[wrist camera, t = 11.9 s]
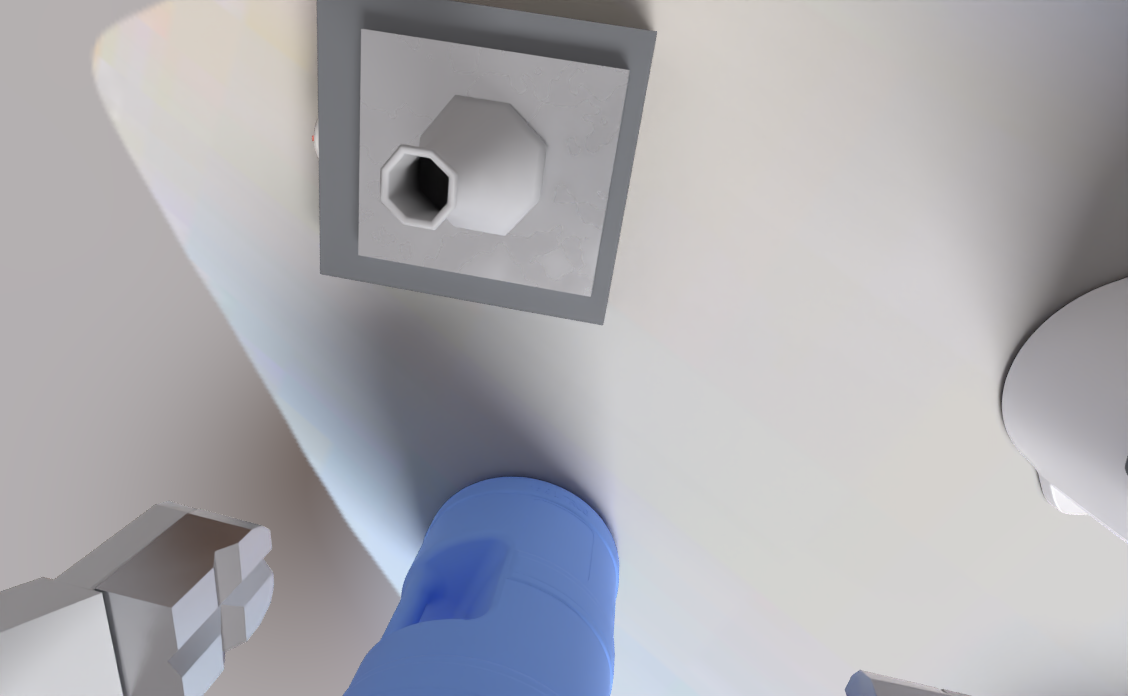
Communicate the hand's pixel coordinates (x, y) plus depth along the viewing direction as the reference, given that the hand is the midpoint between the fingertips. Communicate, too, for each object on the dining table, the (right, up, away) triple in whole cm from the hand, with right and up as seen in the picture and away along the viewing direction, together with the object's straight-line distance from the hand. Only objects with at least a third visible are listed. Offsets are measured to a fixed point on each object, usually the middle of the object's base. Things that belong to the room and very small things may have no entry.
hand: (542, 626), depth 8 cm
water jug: (-3, -13, +40) cm, 42 cm away
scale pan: (-4, +14, +25) cm, 29 cm away
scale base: (-5, +16, +29) cm, 33 cm away
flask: (-4, +14, +24) cm, 28 cm away
